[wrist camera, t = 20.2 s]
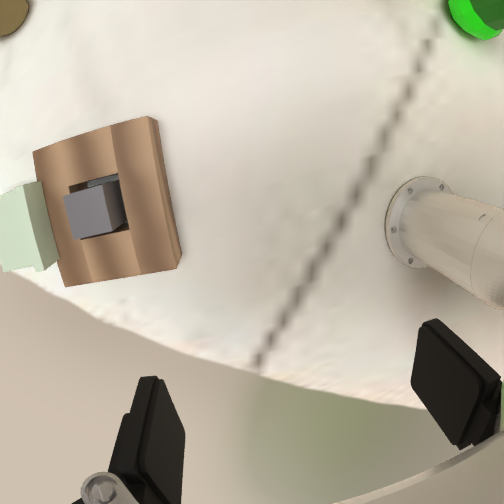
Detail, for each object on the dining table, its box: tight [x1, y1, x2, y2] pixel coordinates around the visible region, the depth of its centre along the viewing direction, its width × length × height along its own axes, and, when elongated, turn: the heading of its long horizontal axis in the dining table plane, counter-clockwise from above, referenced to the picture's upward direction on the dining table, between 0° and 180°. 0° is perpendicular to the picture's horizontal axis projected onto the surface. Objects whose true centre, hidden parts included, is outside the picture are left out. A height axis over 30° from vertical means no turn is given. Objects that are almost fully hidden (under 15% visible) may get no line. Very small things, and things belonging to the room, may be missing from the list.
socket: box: [33, 116, 182, 287], centre depth 33 cm, size 14×16×5 cm
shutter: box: [0, 181, 60, 272], centre depth 28 cm, size 9×9×4 cm
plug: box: [63, 180, 127, 240], centre depth 31 cm, size 4×4×8 cm
